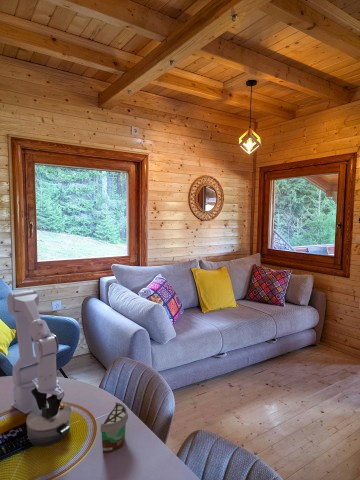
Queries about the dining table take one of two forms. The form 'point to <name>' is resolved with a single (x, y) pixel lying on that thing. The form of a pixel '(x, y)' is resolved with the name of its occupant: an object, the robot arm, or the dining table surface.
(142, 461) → the dining table surface
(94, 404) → the dining table surface
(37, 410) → the cooker lid
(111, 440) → the food container
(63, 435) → the cooker pot
